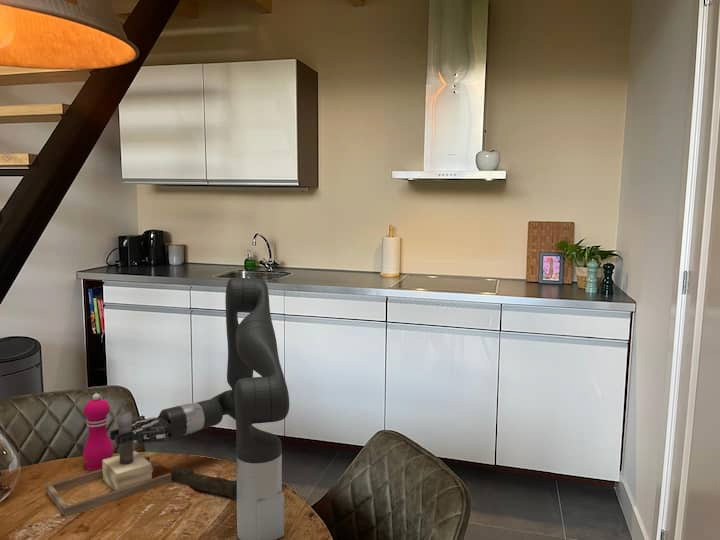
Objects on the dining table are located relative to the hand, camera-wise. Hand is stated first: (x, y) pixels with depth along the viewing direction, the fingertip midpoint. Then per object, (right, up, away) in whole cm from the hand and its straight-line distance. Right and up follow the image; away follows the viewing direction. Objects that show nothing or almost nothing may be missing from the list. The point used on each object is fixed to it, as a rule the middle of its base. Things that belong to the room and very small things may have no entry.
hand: (113, 437), depth 135 cm
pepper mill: (-9, -12, +12) cm, 19 cm away
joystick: (+2, -12, +3) cm, 12 cm away
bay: (-1, -13, +1) cm, 13 cm away
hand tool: (+21, -14, +2) cm, 25 cm away
